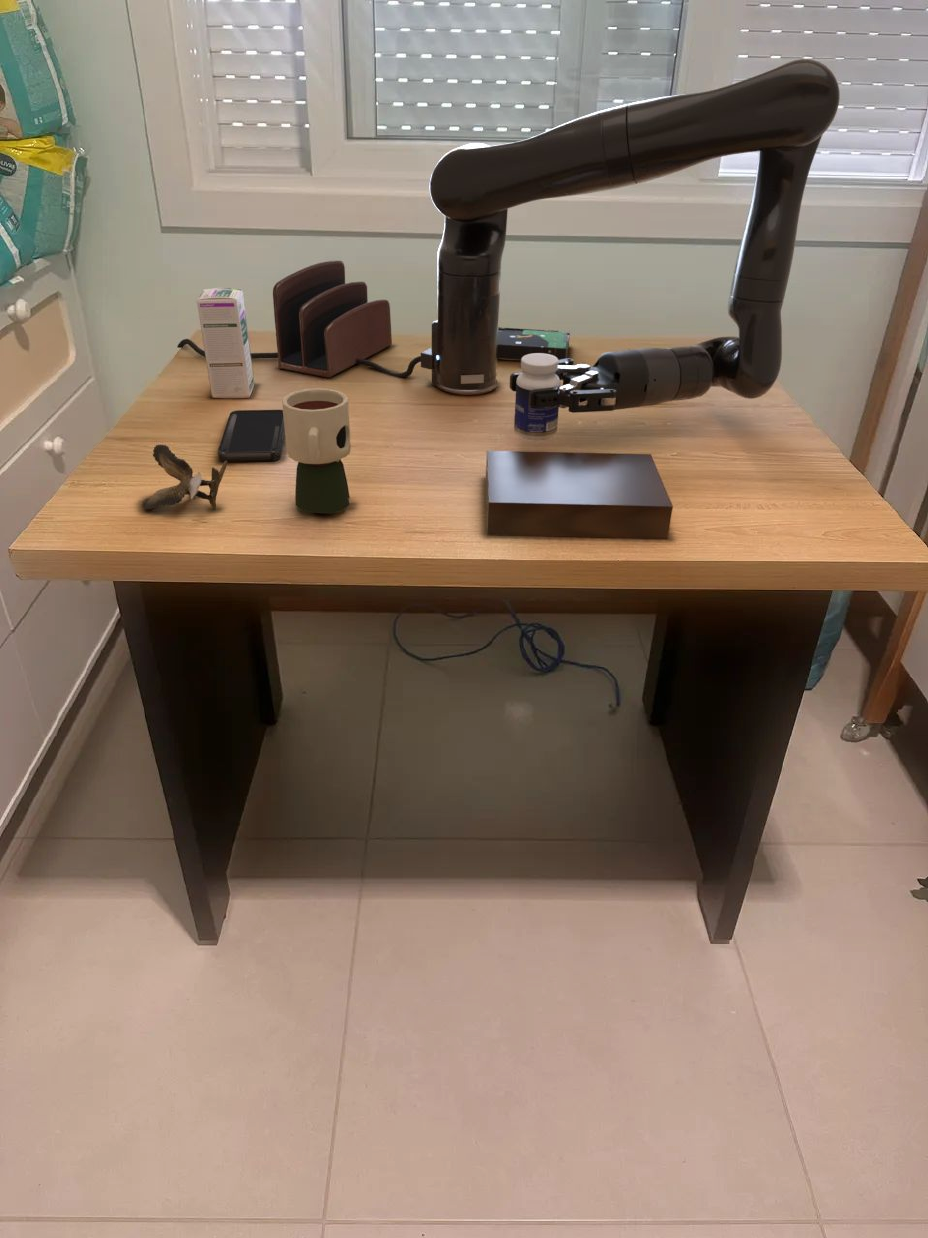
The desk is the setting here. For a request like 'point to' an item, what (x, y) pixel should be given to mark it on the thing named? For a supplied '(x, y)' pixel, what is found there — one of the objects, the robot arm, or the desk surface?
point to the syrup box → (226, 342)
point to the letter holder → (327, 321)
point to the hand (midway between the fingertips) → (520, 390)
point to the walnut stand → (575, 495)
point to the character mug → (318, 447)
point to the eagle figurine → (182, 481)
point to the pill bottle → (534, 376)
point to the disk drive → (531, 343)
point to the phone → (253, 436)
